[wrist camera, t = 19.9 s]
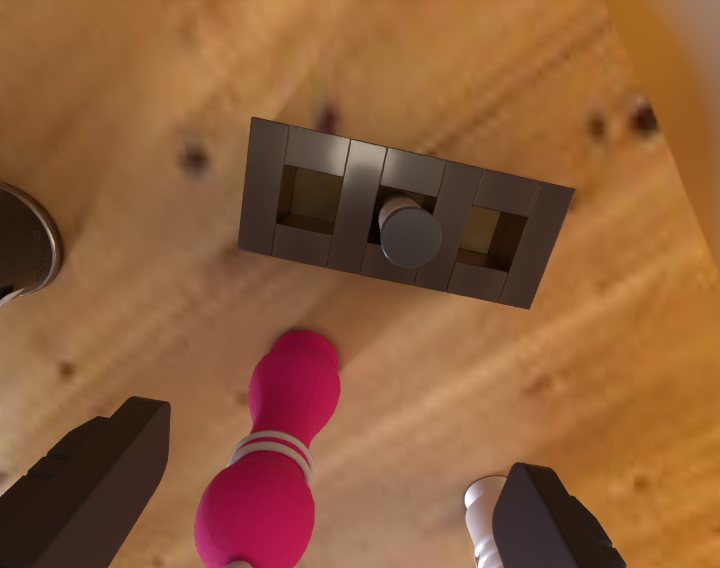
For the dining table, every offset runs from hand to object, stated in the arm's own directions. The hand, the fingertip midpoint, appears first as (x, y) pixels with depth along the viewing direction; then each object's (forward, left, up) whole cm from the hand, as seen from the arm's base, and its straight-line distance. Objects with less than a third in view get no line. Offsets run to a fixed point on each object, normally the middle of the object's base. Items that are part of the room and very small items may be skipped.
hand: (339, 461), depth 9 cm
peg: (+2, +3, -24) cm, 24 cm away
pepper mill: (-3, -12, -24) cm, 27 cm away
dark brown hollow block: (+2, +3, -23) cm, 24 cm away
